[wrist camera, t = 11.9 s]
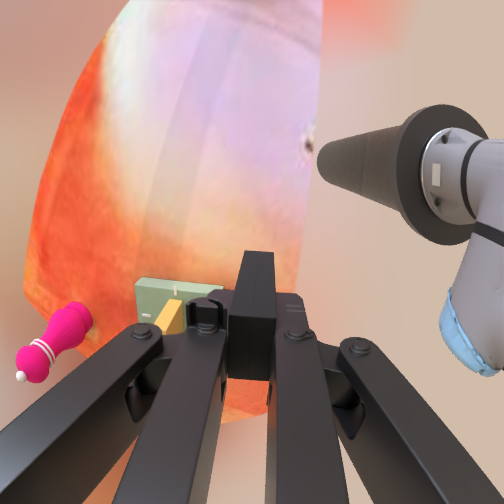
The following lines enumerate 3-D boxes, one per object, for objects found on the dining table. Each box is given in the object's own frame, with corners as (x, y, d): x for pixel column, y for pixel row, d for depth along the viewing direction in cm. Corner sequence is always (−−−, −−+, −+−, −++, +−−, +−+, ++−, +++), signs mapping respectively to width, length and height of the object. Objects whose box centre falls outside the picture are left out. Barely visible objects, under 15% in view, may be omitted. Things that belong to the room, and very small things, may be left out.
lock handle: (169, 298, 40) (149, 329, 32) (182, 300, 40) (165, 331, 32) (171, 337, 42) (155, 371, 34) (183, 339, 42) (169, 374, 34)
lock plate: (224, 282, 42) (220, 291, 39) (221, 343, 45) (219, 355, 42) (141, 273, 42) (133, 281, 39) (147, 332, 45) (141, 343, 42)
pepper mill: (101, 329, 46) (44, 400, 27) (76, 334, 47) (21, 397, 28) (83, 295, 44) (14, 358, 25) (59, 302, 45) (-5, 360, 26)
